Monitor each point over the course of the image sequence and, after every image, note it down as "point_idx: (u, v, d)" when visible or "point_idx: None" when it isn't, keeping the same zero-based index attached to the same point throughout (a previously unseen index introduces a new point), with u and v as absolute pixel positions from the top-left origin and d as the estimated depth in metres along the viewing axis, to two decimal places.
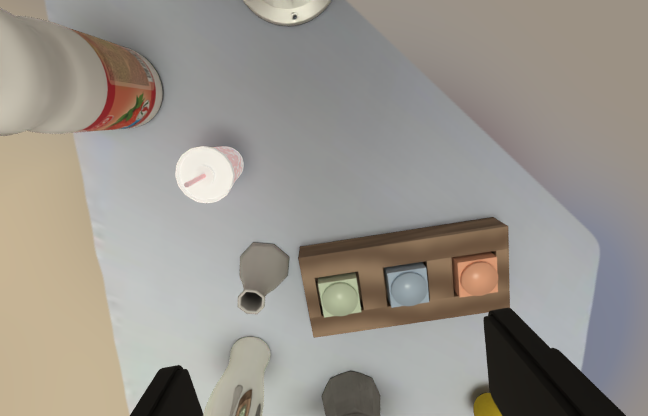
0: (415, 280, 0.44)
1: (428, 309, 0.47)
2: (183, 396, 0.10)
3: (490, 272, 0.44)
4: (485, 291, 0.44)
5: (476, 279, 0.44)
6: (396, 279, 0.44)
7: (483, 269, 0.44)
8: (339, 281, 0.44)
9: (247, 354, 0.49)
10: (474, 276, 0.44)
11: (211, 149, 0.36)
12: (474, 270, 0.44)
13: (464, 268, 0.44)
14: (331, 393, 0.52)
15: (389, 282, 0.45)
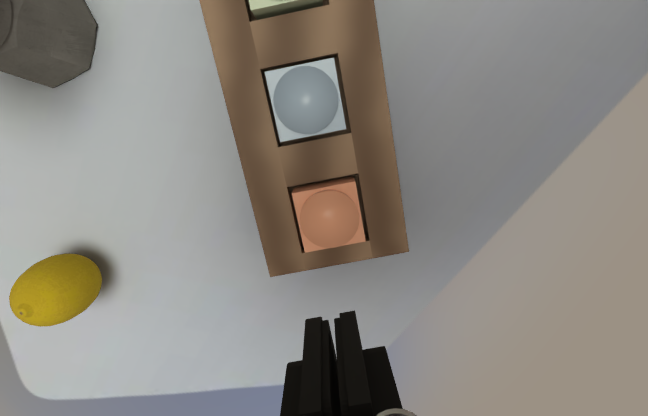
0: (325, 109, 0.25)
1: (261, 146, 0.27)
2: (331, 343, 0.11)
3: (343, 234, 0.27)
4: (308, 231, 0.27)
5: (330, 214, 0.27)
6: (325, 73, 0.24)
7: (348, 222, 0.27)
8: None
9: None
10: (335, 210, 0.27)
11: None
12: (346, 208, 0.26)
13: (345, 193, 0.27)
14: None
15: (315, 63, 0.24)
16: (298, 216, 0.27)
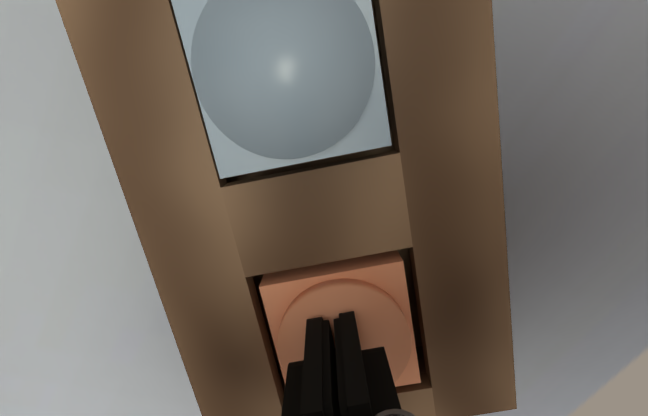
0: (338, 92, 0.09)
1: (179, 186, 0.11)
2: (332, 343, 0.11)
3: None
4: None
5: None
6: None
7: (386, 352, 0.12)
8: None
9: None
10: (357, 327, 0.12)
11: None
12: (382, 324, 0.12)
13: (379, 287, 0.12)
14: None
15: None
16: (275, 333, 0.12)
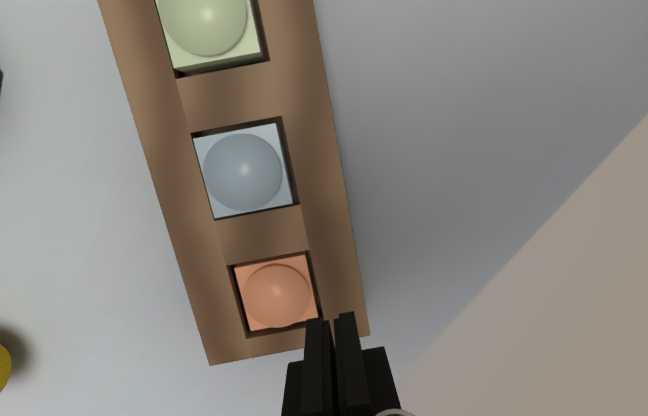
0: (266, 183, 0.21)
1: (193, 220, 0.23)
2: (331, 343, 0.11)
3: (291, 312, 0.24)
4: (253, 310, 0.24)
5: (276, 291, 0.24)
6: (265, 142, 0.20)
7: (297, 300, 0.24)
8: (249, 9, 0.19)
9: None
10: (282, 287, 0.24)
11: None
12: (294, 285, 0.24)
13: (294, 267, 0.24)
14: None
15: (254, 129, 0.21)
16: (242, 292, 0.24)
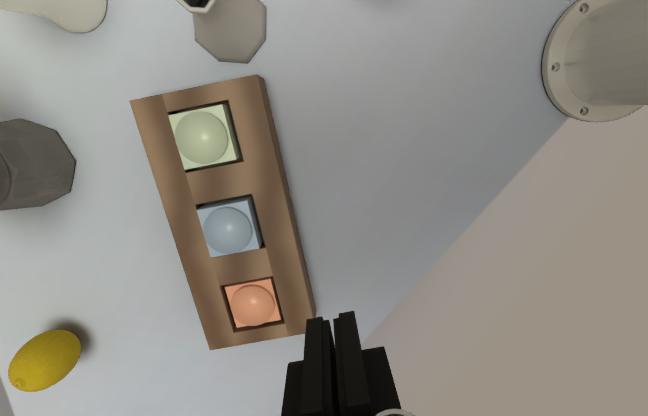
0: (241, 237, 0.33)
1: (198, 257, 0.36)
2: (332, 343, 0.11)
3: (262, 316, 0.37)
4: (237, 314, 0.37)
5: (252, 302, 0.37)
6: (240, 213, 0.33)
7: (265, 308, 0.37)
8: (229, 135, 0.32)
9: None
10: (255, 300, 0.37)
11: None
12: (263, 298, 0.36)
13: (263, 287, 0.37)
14: (31, 133, 0.34)
15: (234, 204, 0.33)
16: (230, 302, 0.37)
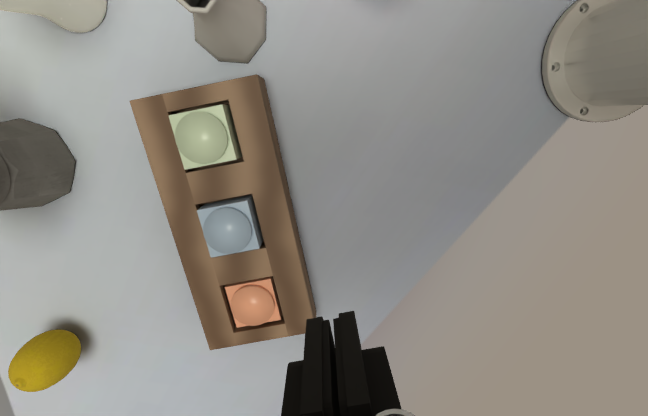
0: (241, 237, 0.33)
1: (198, 257, 0.36)
2: (332, 343, 0.11)
3: (262, 316, 0.37)
4: (237, 314, 0.37)
5: (252, 302, 0.37)
6: (241, 213, 0.33)
7: (265, 308, 0.37)
8: (229, 135, 0.32)
9: None
10: (256, 300, 0.37)
11: None
12: (263, 298, 0.36)
13: (263, 287, 0.37)
14: (31, 133, 0.34)
15: (234, 204, 0.33)
16: (230, 302, 0.37)
